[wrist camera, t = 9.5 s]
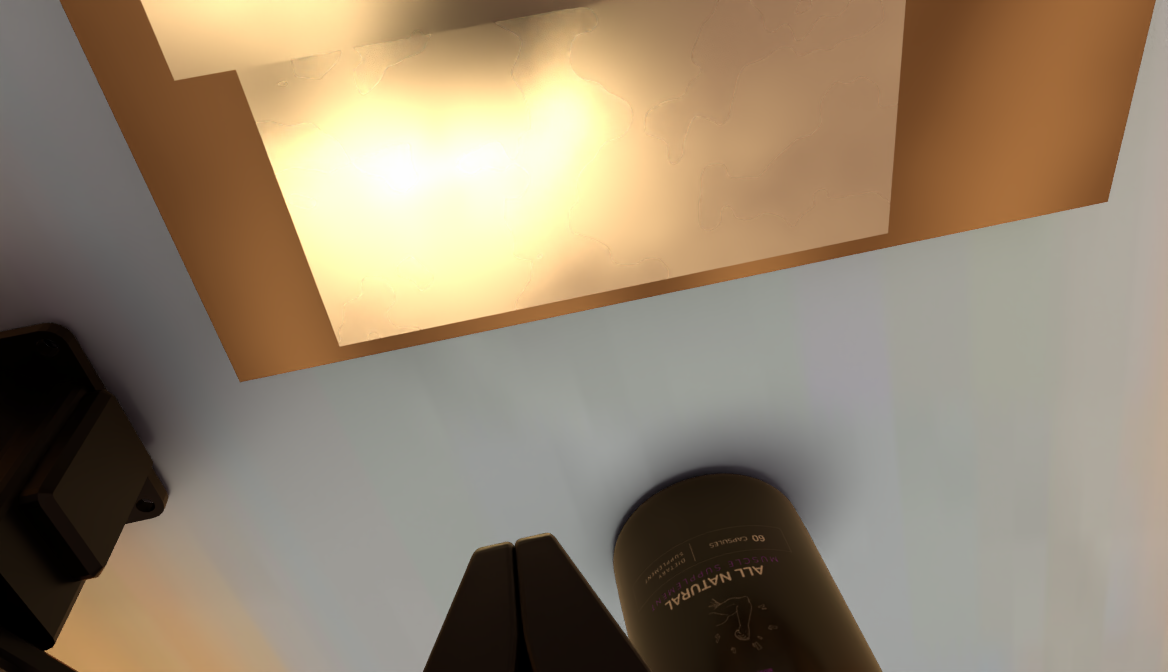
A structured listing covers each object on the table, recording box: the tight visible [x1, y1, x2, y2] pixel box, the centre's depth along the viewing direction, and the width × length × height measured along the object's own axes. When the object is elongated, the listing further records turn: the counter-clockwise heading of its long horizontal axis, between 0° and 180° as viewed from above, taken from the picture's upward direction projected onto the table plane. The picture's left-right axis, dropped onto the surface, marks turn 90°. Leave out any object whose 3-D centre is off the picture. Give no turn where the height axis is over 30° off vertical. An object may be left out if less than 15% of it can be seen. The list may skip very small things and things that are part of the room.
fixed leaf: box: [141, 0, 906, 346], centre depth 15 cm, size 14×11×4 cm
